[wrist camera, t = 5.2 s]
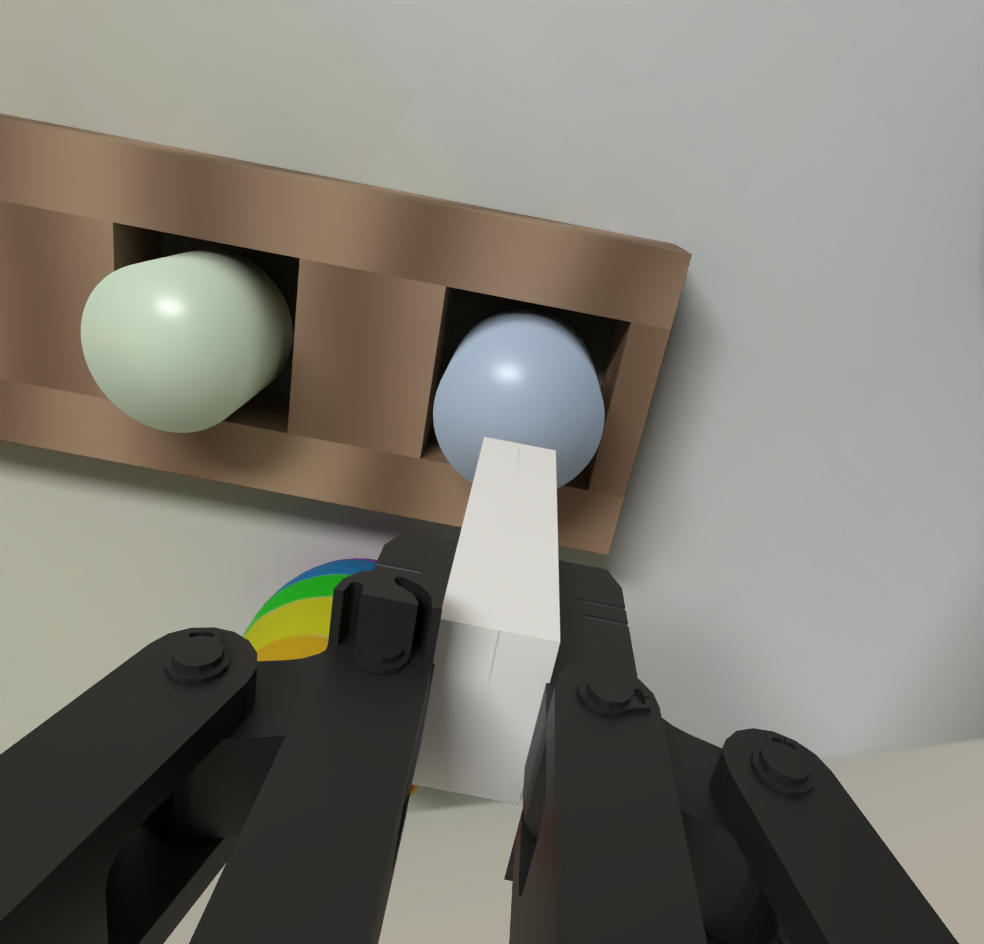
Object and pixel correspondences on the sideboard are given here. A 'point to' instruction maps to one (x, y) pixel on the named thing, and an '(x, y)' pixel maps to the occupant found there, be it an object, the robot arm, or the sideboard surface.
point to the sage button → (186, 337)
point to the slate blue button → (520, 392)
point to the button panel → (310, 319)
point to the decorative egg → (302, 614)
